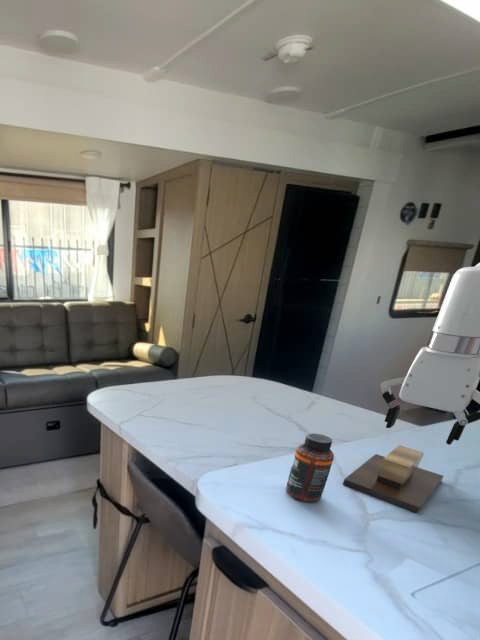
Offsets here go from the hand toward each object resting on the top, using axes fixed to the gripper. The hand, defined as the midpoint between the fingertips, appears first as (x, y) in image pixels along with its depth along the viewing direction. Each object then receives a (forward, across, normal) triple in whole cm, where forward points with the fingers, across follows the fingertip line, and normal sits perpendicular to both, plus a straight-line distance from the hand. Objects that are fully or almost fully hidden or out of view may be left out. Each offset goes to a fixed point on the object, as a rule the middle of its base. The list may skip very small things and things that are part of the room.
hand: (418, 434), depth 78 cm
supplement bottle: (+9, +10, +24) cm, 28 cm away
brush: (+8, 0, +5) cm, 9 cm away
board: (+9, 0, +5) cm, 10 cm away
